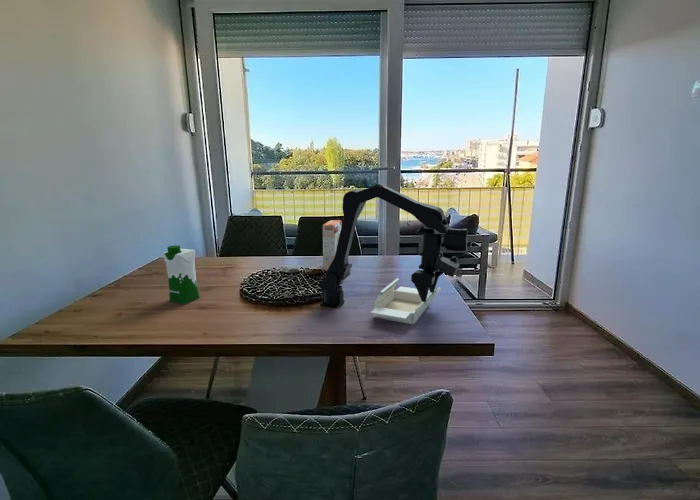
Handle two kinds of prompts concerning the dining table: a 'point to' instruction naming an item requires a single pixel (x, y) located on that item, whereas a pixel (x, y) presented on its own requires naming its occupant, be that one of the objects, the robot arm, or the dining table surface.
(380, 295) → the flap
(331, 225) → the cracker box
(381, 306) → the carton
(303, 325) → the dining table surface
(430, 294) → the flap
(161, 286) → the dining table surface
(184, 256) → the milk carton
